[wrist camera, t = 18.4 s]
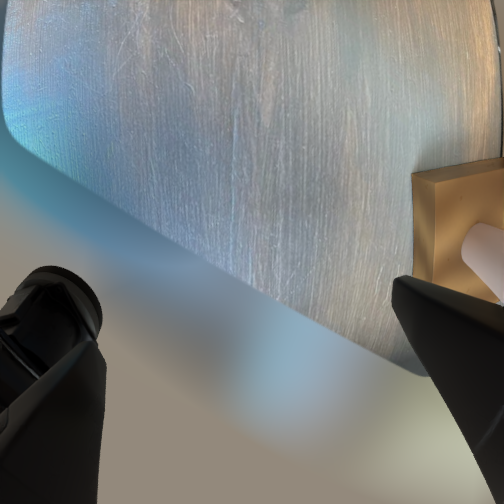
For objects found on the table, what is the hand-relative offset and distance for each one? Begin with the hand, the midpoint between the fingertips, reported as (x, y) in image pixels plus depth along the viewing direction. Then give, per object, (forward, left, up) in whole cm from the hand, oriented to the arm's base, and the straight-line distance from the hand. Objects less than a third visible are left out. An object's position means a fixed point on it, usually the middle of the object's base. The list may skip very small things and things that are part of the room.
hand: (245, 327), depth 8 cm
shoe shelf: (-8, -24, -13) cm, 28 cm away
